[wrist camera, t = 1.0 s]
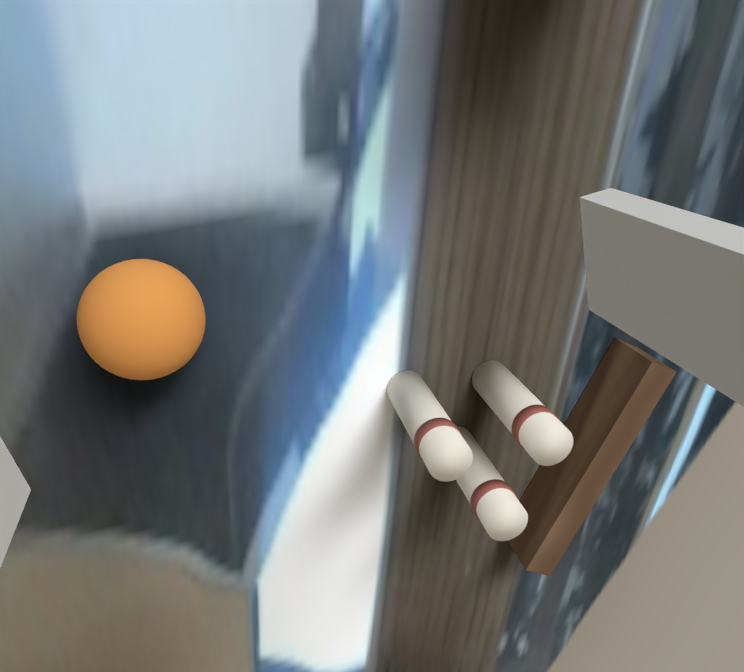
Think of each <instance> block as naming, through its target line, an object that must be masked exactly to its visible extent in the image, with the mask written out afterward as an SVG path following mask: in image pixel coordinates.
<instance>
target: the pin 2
mask: <svg viewBox="0 0 744 672" xmlns="http://www.w3.org/2000/svg"><path fill="white" fill-rule="evenodd" d="M456 427H457V428H458V430H459V431H460V432H461V434H462V436H463V438H464V440H465V441H466V443H467V444H468V446H469V447H470V449H471V451H472V454H473V461H472V464H471V466H470V468H469V470H468V471H467V472H466V473H465V474H464V475H463V476H462V477H460V478H458V479H456V481H457V483H458V484H459V486H460V488H461V489H462V491H463V493H464V494H465V496H466V498H467V499H468V501H469V503H470V504H471V507H472V509H473V511H474V513H475V514H476V516H477V518H478V519H479V520H480V521H481V523H482V524H483V526H484V528H485V529H486V531H487V533H488V534H489V536H490V537H491V538H492V539H494V540H497V541H508V540H511V539H513V538H515V537H517V536H518V535H519V534H521V533H522V531H523V530H524V529H525V527H526V525H527V522H528V514H527V512H526V510H525V509H524V507H523V506H522V505H521V503H520V502H519V500H518V499H517V497H516V495H515V493H514V492H513V490H512V489H511V488H510V486H509V485H508V484H507V483H506V482H505V481H504V479H503V478H502V477H501V475H500V474H499V472H498V471H497V470H496V468H495V467H494V465H493V464H492V463H491V461H490V460H489V459H488V457H487V456H486V454H485V453H484V452H483V450H482V449H481V447H480V446H479V445H478V443H477V442H476V440H475V439H474V438H473V436H472V435H471V433H470V432H469V431H468V430H467V429H466V428H464V427H460V426H456Z"/></svg>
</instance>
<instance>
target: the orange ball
mask: <svg viewBox="0 0 744 672" xmlns="http://www.w3.org/2000/svg"><path fill="white" fill-rule="evenodd" d="M77 328H78V333H79V337H80V339H81V342H82V344H83V346H84V348H85V350H86V351H87V353H88V354H89V355H90V357H91V358H92V359H93V360H94V361H95V362H96V363H97V364H98V365H100V366H101V367H102V368H104V369H105V370H107V371H108V372H110V373H112V374H114V375H117V376H120V377H123V378H127V379H133V380H151V379H157V378H161V377H164V376H166V375H169V374H171V373H173V372H175V371H176V370H178V369H179V368H181V367H182V366H183V365H185V364H186V363H187V362H188V361H189V360H190V359H191V358H192V356H193V355H194V354H195V352H196V351H197V349H198V348H199V345H200V343H201V341H202V338H203V335H204V330H205V310H204V306H203V302H202V299H201V297H200V295H199V293H198V291H197V289H196V288H195V286H194V285H193V284H192V283H191V281H190V280H189V279H188V278H187V277H186V276H185V275H184V274H182V273H181V272H180V271H178V270H177V269H175V268H173V267H172V266H170V265H167V264H165V263H162V262H159V261H155V260H149V259H132V260H127V261H123V262H120V263H117V264H114V265H112V266H110V267H108V268H106V269H105V270H103V271H102V272H100V273H99V274H98V275H97V276H96V277H94V279H93V280H92V281H91V282H90V283H89V284H88V286H87V287H86V289H85V290H84V292H83V294H82V297H81V299H80V302H79V305H78V309H77Z"/></svg>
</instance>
